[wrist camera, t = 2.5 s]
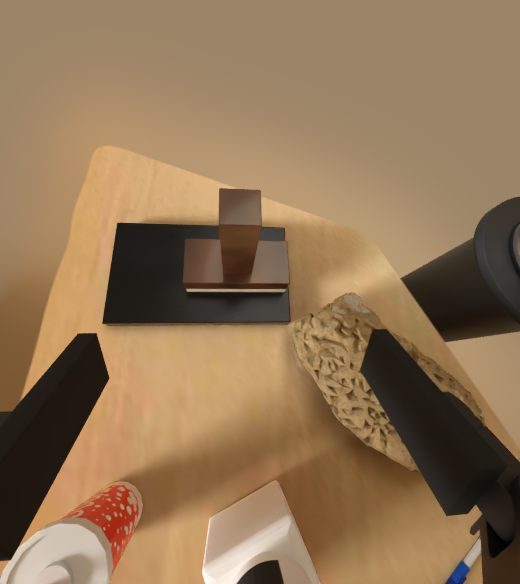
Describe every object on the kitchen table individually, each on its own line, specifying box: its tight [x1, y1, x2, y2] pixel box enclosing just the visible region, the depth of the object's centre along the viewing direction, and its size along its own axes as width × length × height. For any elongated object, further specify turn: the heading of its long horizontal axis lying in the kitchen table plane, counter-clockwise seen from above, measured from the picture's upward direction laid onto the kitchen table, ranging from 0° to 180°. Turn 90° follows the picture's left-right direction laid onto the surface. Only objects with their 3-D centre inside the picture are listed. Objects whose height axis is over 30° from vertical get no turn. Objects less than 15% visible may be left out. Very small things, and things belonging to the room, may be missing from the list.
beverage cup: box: [0, 481, 143, 584], centre depth 17 cm, size 6×6×14 cm
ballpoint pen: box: [445, 537, 481, 584], centre depth 26 cm, size 10×1×1 cm, turn 129°
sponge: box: [292, 293, 486, 473], centre depth 27 cm, size 13×8×20 cm
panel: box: [102, 223, 290, 326], centre depth 31 cm, size 20×12×2 cm, turn 91°
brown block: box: [183, 188, 290, 292], centre depth 25 cm, size 11×5×12 cm, turn 91°
